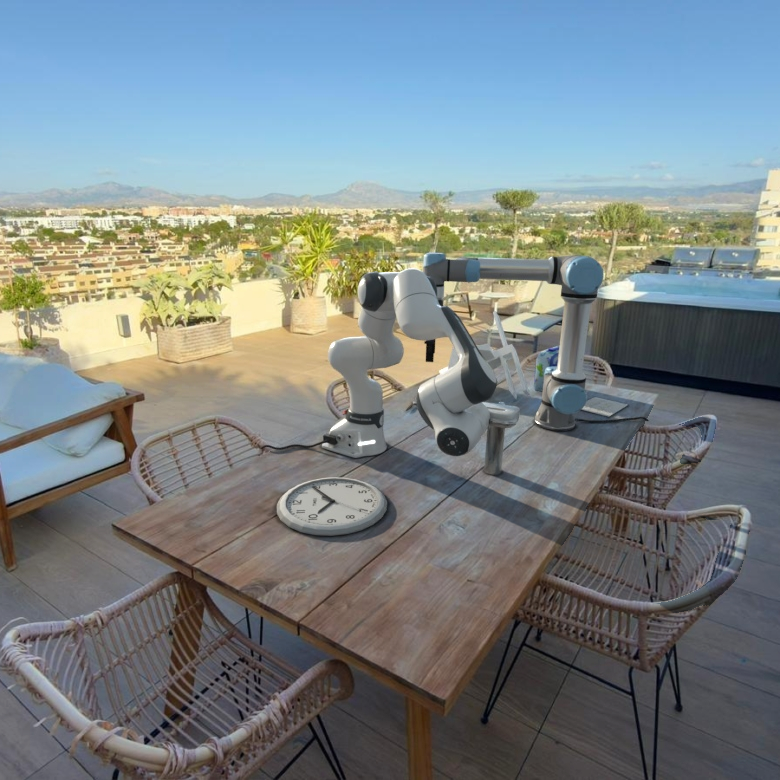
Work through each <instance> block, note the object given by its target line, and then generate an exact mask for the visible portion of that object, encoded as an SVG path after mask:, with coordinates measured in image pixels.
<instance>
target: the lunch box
mask: <svg viewBox="0 0 780 780" xmlns="http://www.w3.org/2000/svg"><path fill="white" fill-rule="evenodd" d="M559 346H560V345H556V346H553V347H549V348H547V349H544V350H542V351H540V352H539V353H538V355H537V357H536V360H535V369H534V381H533V389H534V391H535V392H539V393H542V392H543V382H544V373H545V369H546V368H547V367H553V366H557V364H558V355H559Z"/></svg>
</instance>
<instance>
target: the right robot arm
mask: <svg viewBox="0 0 780 780" xmlns="http://www.w3.org/2000/svg"><path fill="white" fill-rule="evenodd" d="M422 264H423V265H422V272H423V273H424V274H425V275H426V276H429V277H431V278H432V279H433V280H434V282H435V283H436V286H437V299H438V302H439V304H440V306H444V299H443V298H444V297H445V282H447V283H449V282H452V283H453V282H457V283H468V284H470V283H477V282H479V281H480V280H495V281H497V280H499V281H500V280H501V281H526V282H527V281H531V282H546V283H547V284H548V285H557V286H561V289H560V298H561V299H562V300H563V303H564V305H563V313H562V322H561V330H560V339H559V345H558V346H559V355H558V364H557V366H553V367H547V368H546V369H545V373H544V382H543V392H541V393H542V394H541V402H540V405H539V407H538V410H537V411H536V413H535V417H534V424H535V425H536V426H537V427H539V428H542V429H544V430H549V431H556V432H567V431H572V430H574V429H575V428H576V422H583V423H596V424H597V423H598V424H601V423H616V422H624V421H636V420H644V421H646V422H650V421H649V419H648V418H647V417H645V416H635V417H625V418H616V419H600V420H598V419H597V420H596V419H595V420H593V419H582V418H575V417H576V416H575V414H576V413H579V412H580V411H582V410H581V409H582V408H583V407H584V406H585V404H586V401H588V397H587V392H586V389H585V388H586V383H587V382H586V381H587V375H586V374H585V373H584V371H583V369H584V361H585V355H586V347H587V339H588V338H587V337H588V330H589V324H590V318H591V317H590V316H591V308H592V303H593V302H594V301H596V300H597V298H598V294H599V293H598V291H599V288H601V285H602V284H603V281H604V269H603V267H602V265H601V264H600V262H599V261H597V260H596V259H595V258H594V257H592V256H587V255H581V254H574V255H573V254H572V255H565V256H551V257H549V258H548V259H545V258H544V259H543V258H542V259H541V258H540V259H539V258H501V257H500V258H497V257H496V258H495V257H494V258H492V257H466V256H460V257H457V258H455V259H451V258H449V259H448V258H447V257H446V253H444V252H427V253H425V254H424V255H423V263H422ZM423 343H424V344H425V362H426V363H434V359H435V357H434V356H435V353H436V339H433V340H426V341H424V342H423Z"/></svg>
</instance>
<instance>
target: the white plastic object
mask: <svg viewBox="0 0 780 780" xmlns="http://www.w3.org/2000/svg"><path fill="white" fill-rule="evenodd" d="M492 315H493V319H494V321H495V324H496V325H495V326H496V328H497V332H498V335H499V338H500V342H501V345H502V347H500V348H498V349H496V350H495V349H493V348H492V347H491V346H490V344H489V343H488V342H487V343H483V344H479V345H476V346H477V348H478V349H479V351H480V353H481V354H482V356H483V357H484V359H485V360H486V362H487V363H488V364H489V365H490V367H491V368H492V370H493V371H495V370H496V369H497V368H499V367H500V366H502V370H503V373H504V376H505V380H506V383H507V386H508V390H509V393H510V394H511V395H512V397H513V398H514V399H515V400H517V392H516V391H517V390H516V388H515V385H514V381H513V378H512V375H511V371H510V369H509V365H508V361H510V360H513V363H514V366H515V369H516V372H517V376H518V380H519V382H520V385H521V389H522V391H523V393H524V395H525V396H526V397H528V396H531V395H530V390H529V388H528V387H529V386H528V384H527V381H526V378H525V375H524V371H523V369H522V368H523V367H522V366H521V362H520V359H519V355H518V352H517V349H516V347H515V346H514V345H513V343H511V344H508V341H507V337H506V334H505V331H504V328H503V325H502V321H501V318H500V315H499V314H498V312H497V311H496V310H495V311H492ZM458 361H459V355H458V354H457V352H456V350H455V348H454V346H453V345H452V349H451V353H450V357H449V362H448V366H446V367H444V368H442V369H440V370H439V371H438V372H439V374H441V373H442V372H444V371H446V370H448V369H450V368H451V367H453V366H454V365H456V364H457V362H458Z"/></svg>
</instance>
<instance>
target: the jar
mask: <svg viewBox="0 0 780 780" xmlns="http://www.w3.org/2000/svg"><path fill="white" fill-rule="evenodd" d="M505 432H506V428H501V427H495V426H488V428H487V430H486V442H485V455H484V467H483V468H484V469H483V470H484V471H483V472H484V473H486V474H487V475H490V476H498V475H501V473H502V466H503V455H504V443H505V434H506V433H505Z"/></svg>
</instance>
